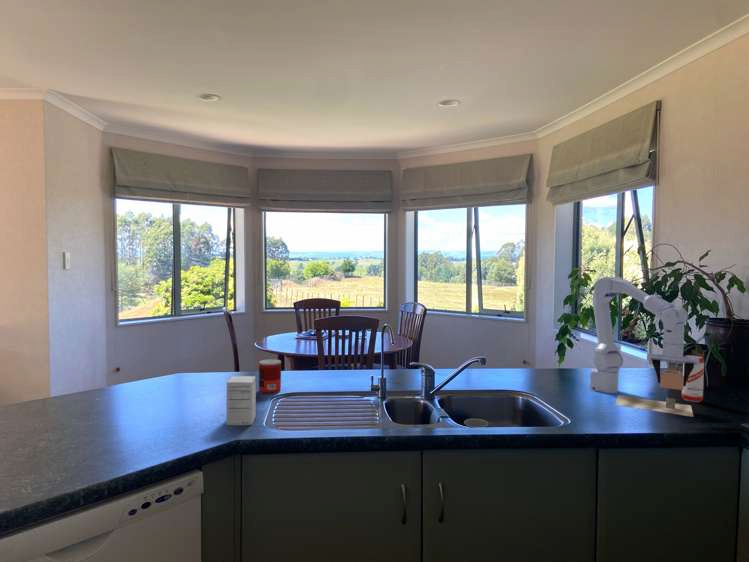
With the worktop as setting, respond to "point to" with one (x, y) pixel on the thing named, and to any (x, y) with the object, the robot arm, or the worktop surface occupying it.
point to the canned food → (269, 376)
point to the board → (655, 405)
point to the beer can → (694, 382)
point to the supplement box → (241, 400)
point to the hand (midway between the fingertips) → (671, 384)
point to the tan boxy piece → (671, 379)
